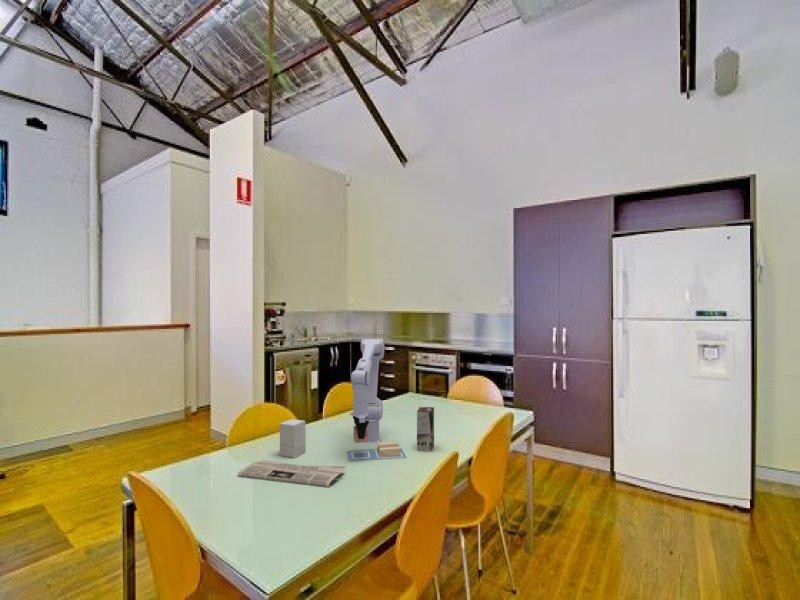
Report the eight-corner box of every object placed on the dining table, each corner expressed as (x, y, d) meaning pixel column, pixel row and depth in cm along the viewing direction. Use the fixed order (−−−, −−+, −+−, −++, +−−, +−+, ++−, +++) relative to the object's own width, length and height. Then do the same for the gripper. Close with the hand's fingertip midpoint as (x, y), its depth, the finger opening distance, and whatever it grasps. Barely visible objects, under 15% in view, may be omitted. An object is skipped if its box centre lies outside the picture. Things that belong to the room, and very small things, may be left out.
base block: (377, 450, 165) (377, 442, 165) (396, 449, 166) (396, 441, 166) (379, 457, 157) (379, 449, 157) (400, 456, 158) (400, 448, 158)
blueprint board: (346, 452, 165) (346, 450, 165) (400, 448, 169) (400, 447, 169) (348, 463, 153) (348, 461, 153) (406, 459, 157) (406, 457, 157)
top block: (353, 438, 162) (353, 425, 162) (366, 438, 163) (366, 425, 163) (354, 442, 157) (354, 429, 157) (367, 442, 158) (367, 428, 158)
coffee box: (432, 453, 163) (432, 412, 164) (416, 452, 164) (416, 411, 165) (434, 445, 172) (434, 406, 173) (419, 444, 173) (419, 406, 174)
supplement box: (306, 452, 164) (306, 420, 165) (294, 458, 158) (294, 425, 158) (291, 449, 168) (291, 418, 168) (279, 455, 161) (279, 423, 161)
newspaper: (237, 478, 141) (237, 467, 141) (259, 464, 153) (259, 455, 153) (333, 489, 132) (333, 478, 132) (347, 474, 144) (347, 464, 144)
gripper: (349, 397, 166) (349, 431, 166) (351, 406, 152) (351, 443, 152) (366, 396, 168) (366, 430, 167) (370, 405, 153) (370, 442, 153)
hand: (360, 436), depth 160 cm, fingers closed on top block, 5 cm apart
